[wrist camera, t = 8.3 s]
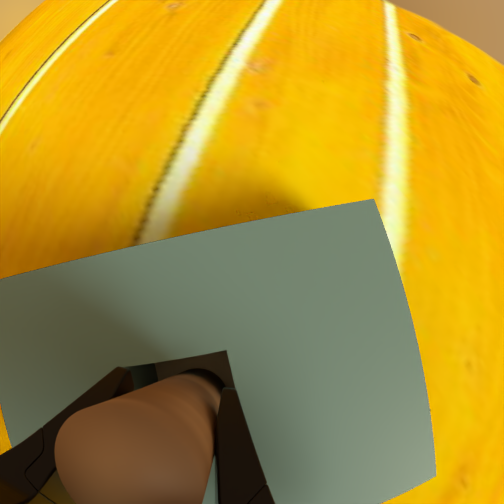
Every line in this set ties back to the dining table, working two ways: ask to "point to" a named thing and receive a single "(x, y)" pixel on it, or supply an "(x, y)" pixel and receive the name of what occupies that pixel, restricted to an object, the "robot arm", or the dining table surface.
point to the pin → (143, 444)
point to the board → (243, 345)
